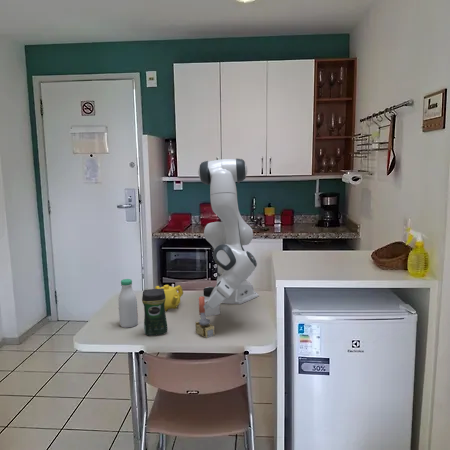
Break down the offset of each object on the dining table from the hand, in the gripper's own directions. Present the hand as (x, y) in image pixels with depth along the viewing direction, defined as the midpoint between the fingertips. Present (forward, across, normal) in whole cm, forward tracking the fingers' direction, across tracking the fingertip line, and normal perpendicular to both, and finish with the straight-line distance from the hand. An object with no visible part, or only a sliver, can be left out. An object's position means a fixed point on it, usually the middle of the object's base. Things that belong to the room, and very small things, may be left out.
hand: (205, 306), depth 182 cm
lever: (+3, +4, +2) cm, 6 cm away
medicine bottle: (+6, -14, +6) cm, 16 cm away
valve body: (+5, +9, +6) cm, 12 cm away
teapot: (+21, -19, -10) cm, 30 cm away
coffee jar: (+20, +9, -8) cm, 23 cm away
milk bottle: (+29, +2, -19) cm, 35 cm away
